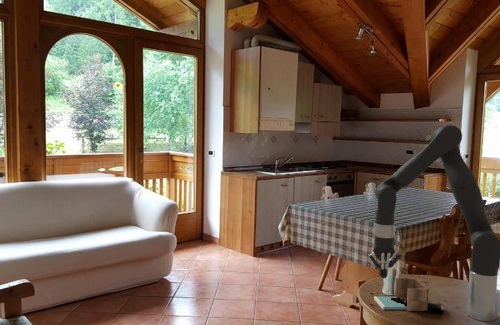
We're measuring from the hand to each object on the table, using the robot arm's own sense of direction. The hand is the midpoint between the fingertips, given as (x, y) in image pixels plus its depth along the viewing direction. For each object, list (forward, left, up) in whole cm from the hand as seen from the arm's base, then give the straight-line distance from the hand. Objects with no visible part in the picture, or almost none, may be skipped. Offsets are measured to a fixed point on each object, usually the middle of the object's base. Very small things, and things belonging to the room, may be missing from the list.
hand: (383, 277), depth 165 cm
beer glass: (-8, -13, -12) cm, 19 cm away
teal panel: (-8, 0, -11) cm, 14 cm away
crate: (-12, 0, -12) cm, 16 cm away
